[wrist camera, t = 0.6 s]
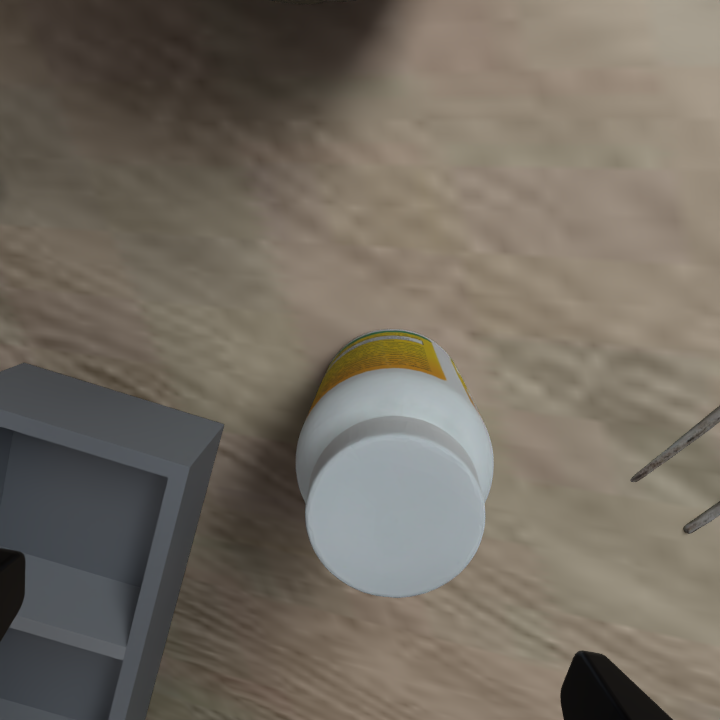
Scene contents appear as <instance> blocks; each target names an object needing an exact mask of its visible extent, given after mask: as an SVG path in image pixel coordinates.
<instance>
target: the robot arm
mask: <svg viewBox="0 0 720 720" xmlns="http://www.w3.org/2000/svg"><path fill="white" fill-rule="evenodd" d="M25 569H26V560H25V555H24V554H23V553H22V552H20V551H16V550H10V549H4V548H0V642H1V640H2V639H3V637H4V635H5V634H6V632H7V630H8V629H9V627H10V625H11V624H12V622H13V620H14V619H15V617H16V615H17V614H18V612H19V610H20V608H21V606H22V603H23V600H24V596H25ZM560 698H561V707H562V712H563V717H564V720H673V719H672V718H671V717H670V716H669V715H667V714H666V713H665V712H664V711H663V710H662V709H661V708H660V707H659V706H658V705H657V704H656V703H655V702H654V701H653V700H652V699H651V698H649V697H648V696H647V695H646V694H645V693H644V692H643V691H642V690H641V689H640V688H639V687H638V686H637V685H636V684H635V683H634V682H633V681H631V680H630V679H629V678H628V677H627V676H626V675H625V674H624V673H623V672H622V671H621V670H620V669H619V668H618V667H617V666H616V665H615V664H614V663H612V662H611V661H610V660H609V659H608V658H607V657H606V656H604V655H602V654H600V653H594V652H588V651H578V652H577V653H576V654H575V656H574V657H573V660H572V662H571V665H570V667H569V670H568V672H567V675H566V677H565V680H564V682H563V685H562V688H561V696H560Z"/></svg>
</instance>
